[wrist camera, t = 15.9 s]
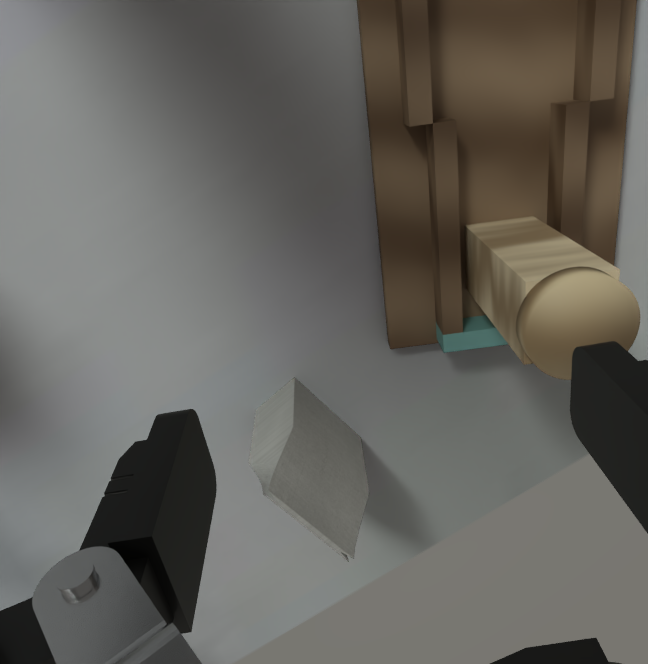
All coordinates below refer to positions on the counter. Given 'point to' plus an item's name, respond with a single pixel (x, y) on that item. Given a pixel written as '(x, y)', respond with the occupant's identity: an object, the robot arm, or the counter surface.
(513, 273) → the maple peg
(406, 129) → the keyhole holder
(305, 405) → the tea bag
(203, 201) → the counter surface
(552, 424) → the counter surface
